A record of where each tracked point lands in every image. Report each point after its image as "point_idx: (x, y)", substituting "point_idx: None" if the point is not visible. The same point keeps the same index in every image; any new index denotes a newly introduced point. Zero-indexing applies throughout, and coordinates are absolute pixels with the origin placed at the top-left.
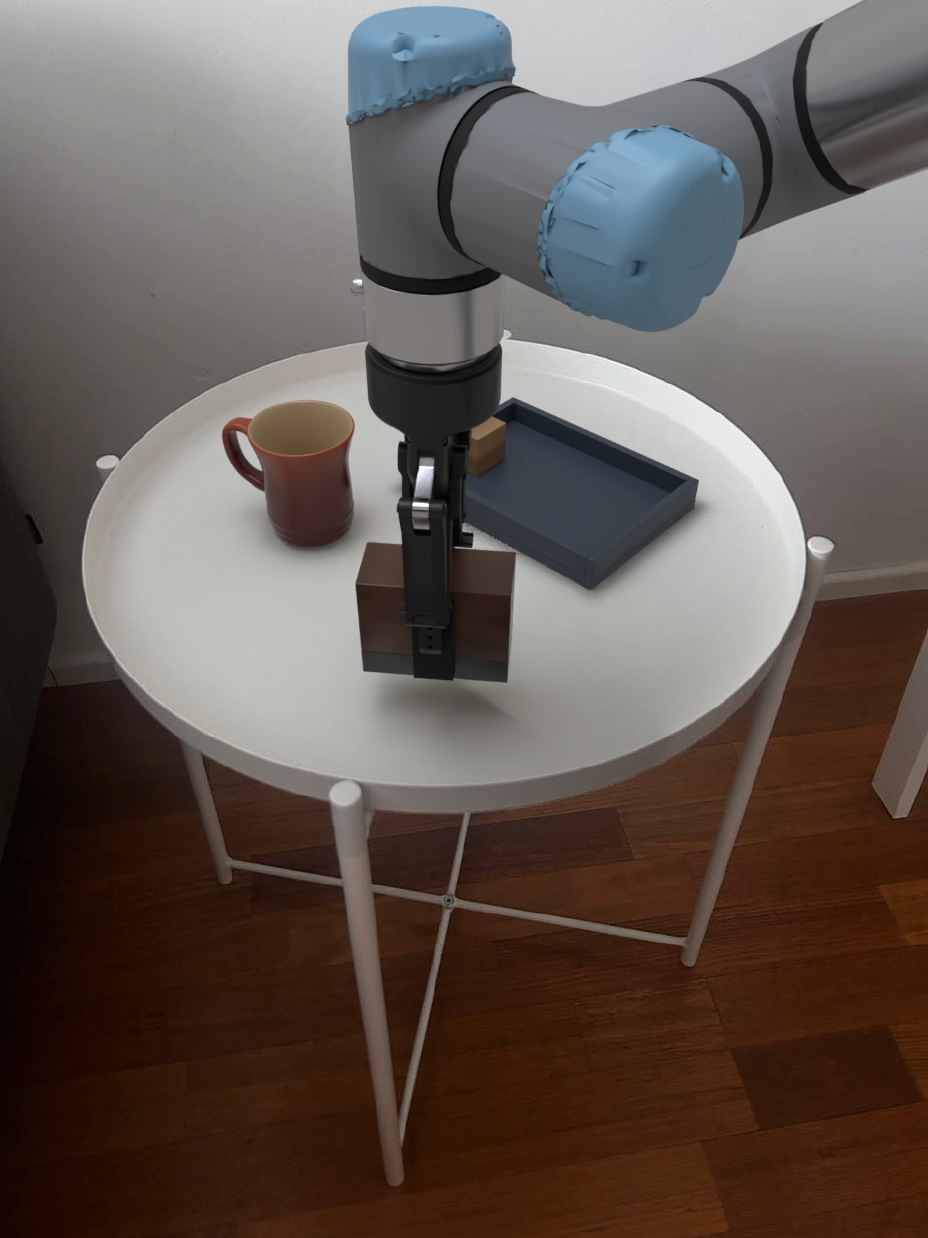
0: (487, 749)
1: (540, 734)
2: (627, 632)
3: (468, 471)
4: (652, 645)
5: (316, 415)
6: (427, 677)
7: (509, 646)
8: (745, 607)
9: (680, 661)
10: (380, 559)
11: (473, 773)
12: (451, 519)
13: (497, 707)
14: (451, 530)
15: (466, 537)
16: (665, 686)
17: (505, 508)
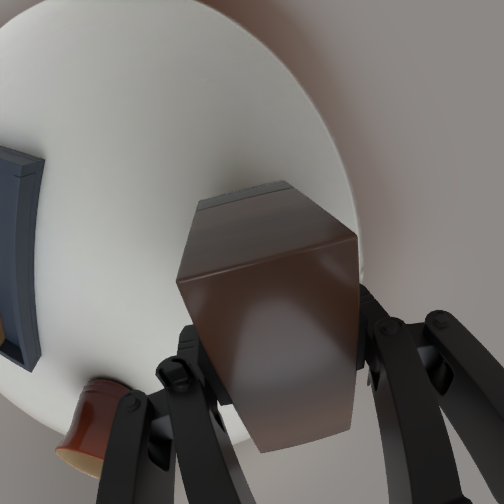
0: (304, 178)
1: (268, 131)
2: (86, 97)
3: (1, 321)
4: (97, 67)
5: (71, 455)
6: None
7: (283, 194)
8: (36, 27)
9: (113, 35)
10: (294, 436)
11: (335, 182)
12: (462, 497)
13: (245, 185)
14: (433, 474)
15: (173, 378)
16: (154, 34)
17: (8, 281)
